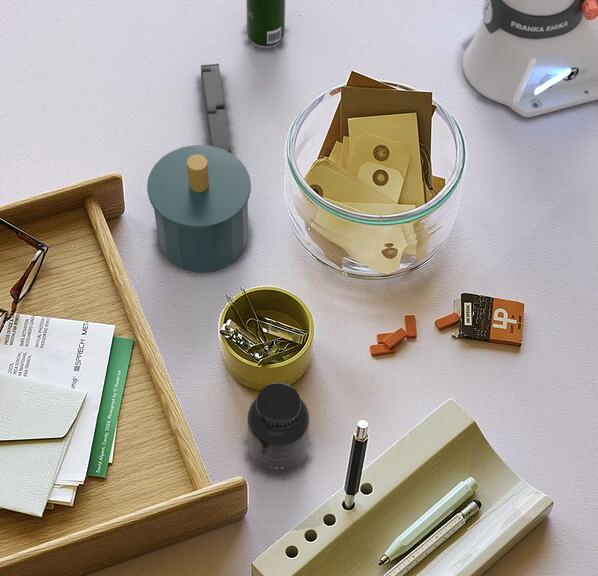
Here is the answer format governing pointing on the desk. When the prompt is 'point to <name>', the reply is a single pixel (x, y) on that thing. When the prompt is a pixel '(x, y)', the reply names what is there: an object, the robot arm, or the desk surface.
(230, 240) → the tin
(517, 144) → the desk surface
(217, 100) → the grey notched bar
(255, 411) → the supplement bottle
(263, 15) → the beer can
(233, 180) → the lid
